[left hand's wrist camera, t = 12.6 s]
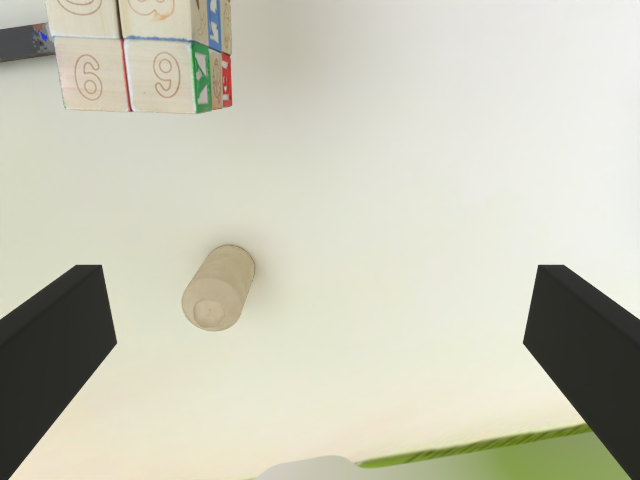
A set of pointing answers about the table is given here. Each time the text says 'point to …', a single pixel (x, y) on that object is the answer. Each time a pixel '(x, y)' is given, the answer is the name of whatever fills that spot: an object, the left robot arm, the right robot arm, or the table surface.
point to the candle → (219, 289)
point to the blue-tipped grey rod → (26, 42)
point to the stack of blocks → (143, 54)
